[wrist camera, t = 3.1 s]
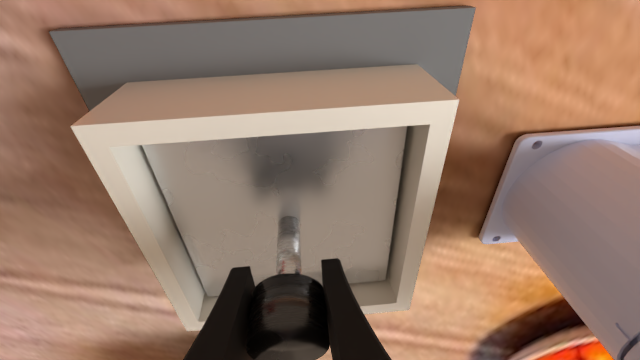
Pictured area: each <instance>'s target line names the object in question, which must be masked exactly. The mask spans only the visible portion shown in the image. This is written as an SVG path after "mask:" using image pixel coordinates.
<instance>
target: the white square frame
mask: <svg viewBox="0 0 640 360" xmlns="http://www.w3.org/2000/svg"><path fill="white" fill-rule="evenodd" d="M458 103H459V99H458V98H457V97H456V96H455V95H453V94H452V93H451V92H450V91H449V90H447V89H446V88H445V87H444V86H443V85H441V84H440V83H439V82H438V81H437V80H436V79H434V78H433V77H432V76H431V75H430V74H428V73H427V72H426V71H425V70H424V69H422V68H421V67H420V66H419V65H418V64H411V65H395V66H379V67H363V68H348V69H332V70H316V71H300V72H284V73H269V74H253V75H237V76H221V77H205V78H190V79H174V80H158V81H142V82H127V83H126V84H124V85H123V86H122V87H121V88H119V89H118V90H117V91H115V92H114V93H113V94H111V95H110V96H109V97H108V98H106V99H105V100H104V101H102V102H101V103H100V104H98V105H97V106H96V107H95V108H93V109H92V110H91V111H89V112H88V113H87V114H85V115H84V116H83V117H82V118H80V119H79V120H78V121H76V122H75V123H74V124H72V125H71V126H70V127H71V128H72V130H73V132H74V134H75V135H76V137H77V139H78V141H79V142H80V144H81V146H82V148H83V149H84V151H85V153H86V155H87V156H88V158H89V160H90V162H91V163H92V165H93V167H94V169H95V170H96V172H97V174H98V176H99V178H100V179H101V181H102V183H103V185H104V186H105V188H106V190H107V192H108V193H109V195H110V197H111V199H112V200H113V202H114V204H115V206H116V207H117V209H118V211H119V213H120V214H121V216H122V218H123V220H124V221H125V223H126V225H127V227H128V228H129V230H130V232H131V234H132V235H133V237H134V239H135V241H136V242H137V244H138V246H139V248H140V249H141V251H142V253H143V255H144V256H145V258H146V260H147V262H148V264H149V265H150V267H151V269H152V271H153V272H154V274H155V276H156V278H157V279H158V281H159V283H160V285H161V286H162V288H163V290H164V292H165V293H166V295H167V297H168V299H169V300H170V302H171V304H172V306H173V307H174V309H175V311H176V313H177V314H178V316H179V318H180V320H181V321H182V323H183V325H184V327H185V328H186V330H187V331H197V330H201V329H202V327H203V325H204V324H205V322H206V320H207V318H208V316H209V314H210V312H211V311H212V309H213V307H214V305H215V303H216V301H217V299H218V297H219V296H207V293H206V291H205V289H204V286H203V284H202V282H201V279H200V277H199V275H198V273H197V270H196V268H195V266H194V263H193V261H192V259H191V257H190V254H189V252H188V250H187V247H186V245H185V243H184V240H183V238H182V236H181V234H180V231H179V229H178V227H177V224H176V222H175V220H174V218H173V215H172V213H171V211H170V208H169V206H168V204H167V201H166V199H165V197H164V195H163V192H162V190H161V188H160V185H159V183H158V181H157V178H156V176H155V174H154V172H153V169H152V167H151V165H150V162H149V160H148V158H147V156H146V153H145V151H144V149H143V146H142V145H148V144H162V143H176V142H190V141H204V140H218V139H232V138H246V137H260V136H274V135H288V134H302V133H316V132H330V131H344V130H358V129H372V128H386V127H400V126H407V131H406V138H405V145H404V152H403V159H402V166H401V173H400V180H399V188H398V195H397V202H396V209H395V216H394V223H393V230H392V237H391V244H390V251H389V258H388V265H387V272H386V279H385V280H382V281H371V282H360V283H349V285H350V287H351V290H352V292H353V294H354V296H355V298H356V300H357V302H358V304H359V306H360V308H361V310H362V312H363V314H373V313H384V312H394V311H404V310H409V309H410V305H411V300H412V296H413V292H414V288H415V284H416V279H417V275H418V271H419V267H420V263H421V258H422V254H423V250H424V246H425V242H426V237H427V233H428V229H429V225H430V221H431V216H432V212H433V208H434V204H435V200H436V195H437V191H438V187H439V183H440V179H441V174H442V170H443V166H444V162H445V158H446V153H447V149H448V145H449V141H450V137H451V132H452V128H453V124H454V120H455V116H456V111H457V107H458Z"/></svg>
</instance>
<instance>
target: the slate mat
mask: <svg viewBox="0 0 640 360" xmlns="http://www.w3.org/2000/svg"><path fill="white" fill-rule="evenodd" d="M475 9H476V8H475V7H472V6H453V7H436V8H418V9H400V10H382V11H364V12H346V13H328V14H310V15H292V16H274V17H256V18H238V19H221V20H203V21H185V22H167V23H149V24H131V25H113V26H95V27H77V28H59V29H56V30H52V31H49V33H50V35H51V37H52V39H53V41H54V43H55V45H56V47H57V49H58V51H59V53H60V54H61V56H62V58H63V60H64V62H65V64H66V66H67V68H68V70H69V72H70V74H71V76H72V78H73V80H74V82H75V84H76V86H77V88H78V90H79V92H80V93H81V95H82V97H83V99H84V101H85V103H86V105H87V107H88V109H89V111H91V110H92V109H93V108H95V107H96V106H97V105H98V104H100V103H101V102H102V101H104V100H105V99H106V98H108V97H109V96H110V95H111V94H113V93H114V92H115V91H117V90H118V89H119V88H121V87H122V86H123V85H124V84H126V83H127V82H142V81H158V80H174V79H190V78H205V77H221V76H237V75H253V74H269V73H284V72H300V71H316V70H332V69H348V68H363V67H379V66H395V65H411V64H418V65H419V66H420V67H421V68H422V69H424V70H425V71H426V72H427V73H428V74H430V75H431V76H432V77H433V78H434V79H436V80H437V81H438V82H439V83H440V84H441V85H443V86H444V87H445V88H446V89H447V90H449V91H450V92H451V93H452V94H453V95H455V96H456V92H457V87H458V83H459V79H460V74H461V70H462V65H463V61H464V57H465V52H466V48H467V44H468V39H469V35H470V30H471V26H472V22H473V17H474V13H475Z"/></svg>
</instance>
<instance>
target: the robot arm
mask: <svg viewBox="0 0 640 360" xmlns="http://www.w3.org/2000/svg"><path fill="white" fill-rule="evenodd" d="M536 141H537V142H536ZM535 142H536V143H535ZM534 143H535V144H534ZM533 144H534V145H533ZM479 239H480V241H481V242H482V243H483V244H494V243H506V242H517V241H519V242H520V243H521V244H522V246H523V247H524V248H525V249H526V251H527V252H528V253H529V254H530V256H531V257H532V258H533V259H534V261H535V262H536V263H537V264H538V266H539V267H540V268H541V269H542V271H543V272H544V273H545V274H546V276H547V277H548V278H549V279H550V281H551V282H552V283H553V284H554V285H555V287H556V288H557V289H558V290H559V292H560V293H561V294H562V295H563V297H564V298H565V299H566V300H567V302H568V303H569V304H570V305H571V307H572V308H573V309H574V310H575V312H576V313H577V314H578V315H579V317H580V318H581V319H582V320H583V322H584V323H585V324H586V325H587V326H588V328H589V329H590V330H591V331H592V333H593V334H594V335H595V336H596V338H597V339H598V340H599V341H600V343H601V344H602V345H603V346H604V348H605V349H606V350H607V351H608V353H609V354H610V355H611V356H612V358H613V359H614V360H640V126H628V127H615V128H601V129H588V130H574V131H561V132H547V133H533V134H525V135H522V136H520V137H519V138H518V139H517V140H516V141H515V143H514V146H513V148H512V151H511V154H510V156H509V159H508V161H507V164H506V167H505V169H504V172H503V175H502V177H501V180H500V182H499V185H498V188H497V190H496V193H495V196H494V198H493V201H492V203H491V206H490V209H489V211H488V214H487V216H486V219H485V222H484V224H483V227H482V230H481V232H480V235H479ZM321 267H322V285H323V289H324V298H325V304H326V312H327V321H328V331H329V341H330V348H331V353H332V359H333V360H391V358H390V357H389V355H388V354H387V352H386V351H385V349H384V348H383V346H382V344H381V343H380V341H379V340H378V338H377V336H376V335H375V333H374V331H373V330H372V328H371V326H370V324H369V323H368V321H367V319H366V317H365V315H364V314H363V312H362V310H361V308H360V306H359V304H358V302H357V300H356V298H355V296H354V294H353V292H352V290H351V287H350V285H349V283H348V281H347V278H346V276H345V273H344V270H343V267H342V264H341V261H340V260H339V259H338V258H334V259H323V260H321ZM254 288H255V284H254V280H253V276H252V273H251V269H250V266H245V267H234V268H232V269H231V270H230V273H229V275H228V277H227V280H226V282H225V284H224V286H223V288H222V291H221V293H220V295H219V297H218V299H217V301H216V303H215V305H214V307H213V309H212V311H211V312H210V314H209V316H208V318H207V320H206V322H205V324H204V325H203V327H202V329H201V331H200V333H199V334H198V336H197V338H196V339H195V341H194V343H193V344H192V346H191V348H190V349H189V351H188V353H187V354H186V356H185V358H184V359H183V360H253V359H252V358H251V357H250V356H249V355H248V353H247V351H246V343H247V334H248V326H249V317H250V308H251V299H252V292H253V290H254Z"/></svg>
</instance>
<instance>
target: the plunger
mask: <svg viewBox="0 0 640 360" xmlns="http://www.w3.org/2000/svg"><path fill="white" fill-rule="evenodd" d="M406 131H407V126H400V127H386V128H372V129H358V130H344V131H330V132H316V133H302V134H288V135H274V136H260V137H246V138H232V139H218V140H204V141H190V142H176V143H162V144H148V145H142V146H143V149H144V151H145V153H146V156H147V158H148V160H149V162H150V165H151V167H152V169H153V172H154V174H155V176H156V178H157V181H158V183H159V185H160V188H161V190H162V192H163V195H164V197H165V199H166V201H167V204H168V206H169V208H170V211H171V213H172V215H173V218H174V220H175V222H176V224H177V227H178V229H179V231H180V234H181V236H182V238H183V240H184V243H185V245H186V247H187V250H188V252H189V254H190V257H191V259H192V261H193V263H194V266H195V268H196V270H197V273H198V275H199V277H200V279H201V282H202V284H203V286H204V289H205V291H206V293H207V296H219V295H220V293H221V291H222V288H223V286H224V284H225V282H226V280H227V277H228V275H229V273H230V270H231V269H232V268H234V267H245V266H250V269H251V273H252V276H253V280H254V284H255V288H254V290H253V292H252V299H251V308H250V317H249V326H248V334H247V343H246V351H247V353H248V355H249V356H250V357H251V358H252V359H254V360H316V359H318V358H320V357H321V356H323V355H324V354H325V353H326V352H327V350H328V349H329V346H330V341H329V331H328V321H327V312H326V304H325V298H324V289H323V285H322V267H321V260H323V259H334V258H338V259H339V260H340V261H341V264H342V267H343V270H344V273H345V276H346V278H347V281H348V283H360V282H371V281H382V280H385V279H386V272H387V265H388V258H389V251H390V244H391V237H392V230H393V223H394V216H395V209H396V202H397V195H398V188H399V180H400V173H401V166H402V159H403V152H404V145H405V138H406Z"/></svg>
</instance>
